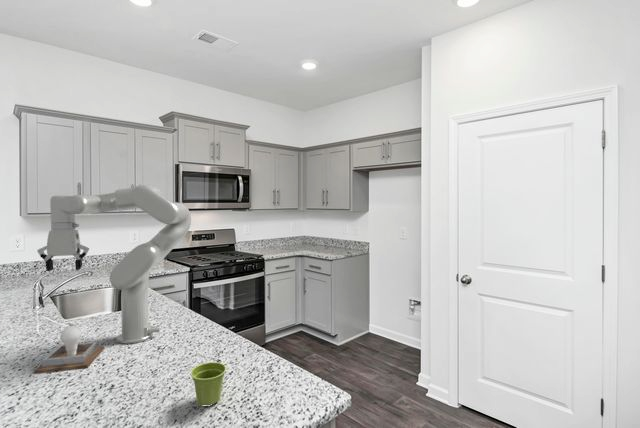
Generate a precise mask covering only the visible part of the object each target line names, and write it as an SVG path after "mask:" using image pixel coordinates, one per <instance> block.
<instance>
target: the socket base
mask: <svg viewBox="0 0 640 428" xmlns="http://www.w3.org/2000/svg"><path fill="white" fill-rule="evenodd" d="M104 349H105V346H104V345H102V346H98V349H97V350H96V351H95V352H94V353H93V354H92V355H91V357H90V358H89V359H88V360H87V361H86V362H85V363H83V364H73V365H64V366H54V367H45V368H42V363H41V364H40V365H39V366H38V367H37V368H35V369H34V371H33V374H42V373H52V372H53V373H54V372H62V371H71V370H72V371H73V370H79V369H80V370H81V369H87V368H89V367H90V366H91V364H92V363H94V362H95V360H96V359H97V358H98V356H99V355H100V354H101V353H103V351H104ZM84 352H85V351H76V355H75V356H78V355H82V354H83V353H84ZM58 357H68V356H67V352H66V353H62V354H60V355H59V356H58Z"/></svg>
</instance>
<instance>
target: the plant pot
mask: <svg viewBox="0 0 640 428" xmlns="http://www.w3.org/2000/svg"><path fill="white" fill-rule="evenodd" d="M226 371H227V366H226V365H225V364H224V363H221V362H215V361H212V362H211V361H209V362H205V363H201V364H198V365H196V366H195V367H193V368H192V369H191V371H190V376H191V378H192V381H193V383H194V390H195V397H196V398H195V399H196V402H197V404H198V405H199V404H200V405H211V404H213V405H215V404H214V403H216V402H218V401H219V402H220V400H221V397H222V396H221V395H222V388H223V380H224V377H225V374H226ZM219 402H218V403H219ZM216 404H217V403H216ZM200 405H199V406H200Z"/></svg>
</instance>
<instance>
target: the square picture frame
mask: <svg viewBox="0 0 640 428" xmlns="http://www.w3.org/2000/svg"><path fill="white" fill-rule="evenodd" d="M98 347H99V341H88V342H81V343H79V342H78V345H77V349H76V351H85V352H84V353H83V354H82V355H78V356H68V357H58V356H59V355H60V354H62V353H66V352H67V351H66V347H65V345H64V344H60V345H58V346H57V347H55V349H54V350H53V351H51V352H50V353H49V354H48V355H46V356H45V357H44V358H42V360H41V364H42V368H45V367H54V366H64V365H73V364H83V363H85V362H86V361H87V360H88V359H89V358H90V357H91V355H92V354H93V353H94V352H95V351H96V350H97V349H98Z"/></svg>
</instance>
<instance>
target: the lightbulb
mask: <svg viewBox="0 0 640 428" xmlns="http://www.w3.org/2000/svg"><path fill="white" fill-rule="evenodd" d="M82 336H83V331H82V328H80V327H79V326H77V325H70V326H67V327H65V328H64V329H63V330H62V331H61V333H60V338H59V339H60V341H61V342H62V343H63V345H65V347H66V351H67V356H75V355H76V349H77V345H78V343H79V341H80V340H81V338H82Z"/></svg>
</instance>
